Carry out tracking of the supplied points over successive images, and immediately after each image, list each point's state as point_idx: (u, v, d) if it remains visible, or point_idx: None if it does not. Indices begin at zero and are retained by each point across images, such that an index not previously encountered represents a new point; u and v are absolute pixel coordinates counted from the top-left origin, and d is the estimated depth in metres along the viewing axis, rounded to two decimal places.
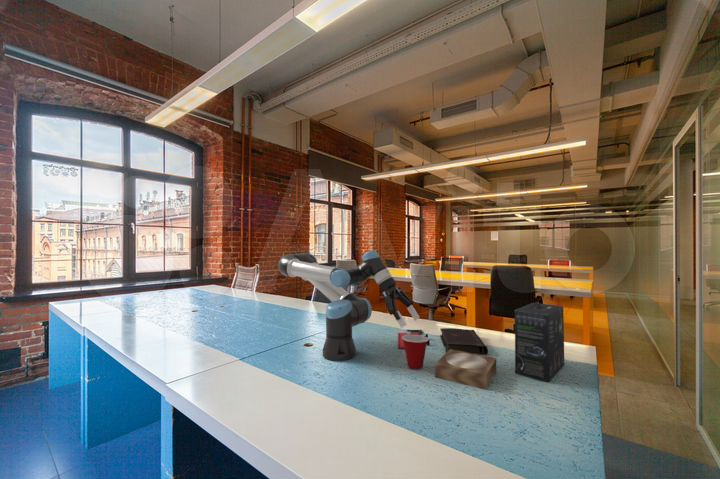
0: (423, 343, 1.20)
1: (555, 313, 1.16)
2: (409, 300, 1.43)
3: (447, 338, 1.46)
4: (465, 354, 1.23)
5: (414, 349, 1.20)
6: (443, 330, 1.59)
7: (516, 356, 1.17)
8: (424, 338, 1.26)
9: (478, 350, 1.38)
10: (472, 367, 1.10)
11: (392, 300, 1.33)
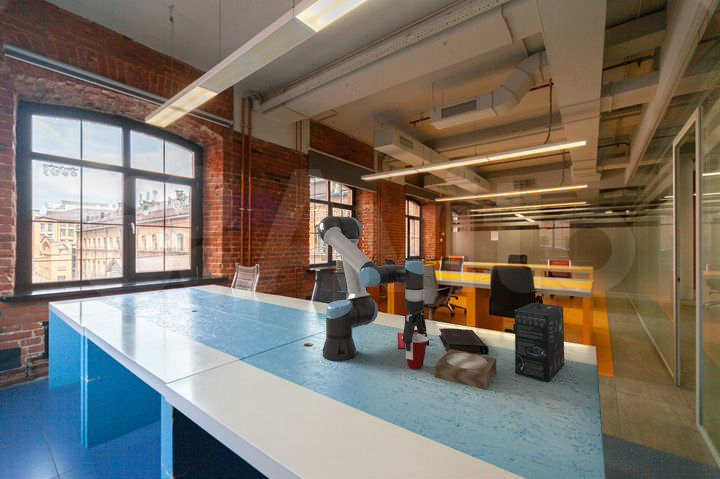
0: (423, 343, 1.20)
1: (555, 313, 1.16)
2: (424, 327, 1.30)
3: (447, 338, 1.46)
4: (465, 354, 1.23)
5: (414, 349, 1.20)
6: (442, 330, 1.59)
7: (516, 356, 1.17)
8: (424, 338, 1.26)
9: (479, 350, 1.38)
10: (472, 367, 1.10)
11: (411, 327, 1.20)
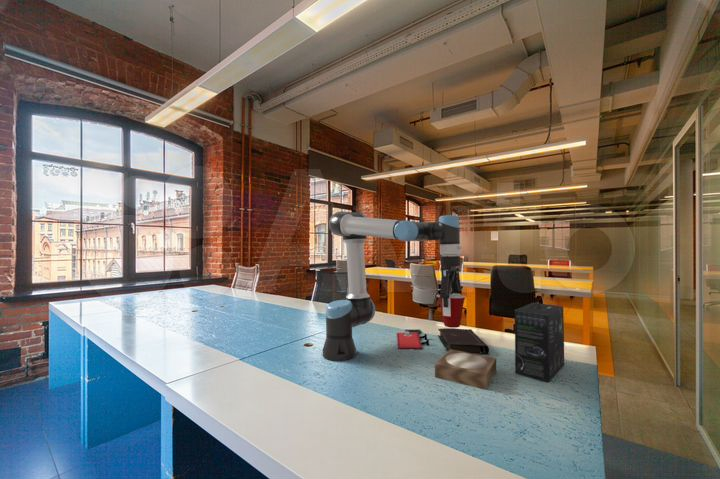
0: (461, 299, 1.15)
1: (555, 313, 1.16)
2: (459, 287, 1.25)
3: (447, 338, 1.46)
4: (465, 354, 1.23)
5: (451, 305, 1.15)
6: (441, 330, 1.59)
7: (516, 356, 1.17)
8: (460, 296, 1.21)
9: (479, 350, 1.38)
10: (472, 367, 1.10)
11: (448, 283, 1.15)
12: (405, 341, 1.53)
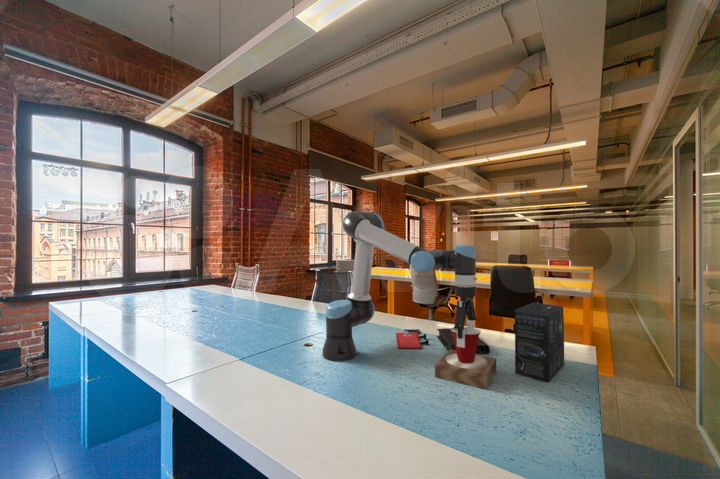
0: (476, 335, 1.13)
1: (555, 313, 1.16)
2: None
3: (448, 338, 1.46)
4: None
5: (466, 341, 1.13)
6: (441, 330, 1.59)
7: (516, 356, 1.17)
8: (474, 330, 1.19)
9: (480, 349, 1.38)
10: (472, 367, 1.10)
11: (463, 313, 1.13)
12: (405, 341, 1.53)
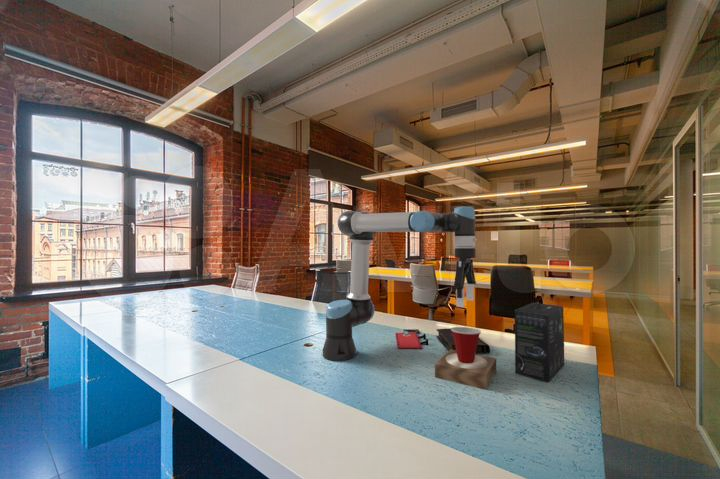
0: (476, 335, 1.13)
1: (555, 313, 1.16)
2: (473, 277, 1.24)
3: (448, 339, 1.45)
4: None
5: (466, 341, 1.13)
6: (440, 331, 1.58)
7: (516, 356, 1.17)
8: (474, 330, 1.19)
9: (480, 349, 1.38)
10: (472, 367, 1.10)
11: (463, 274, 1.13)
12: (405, 341, 1.53)
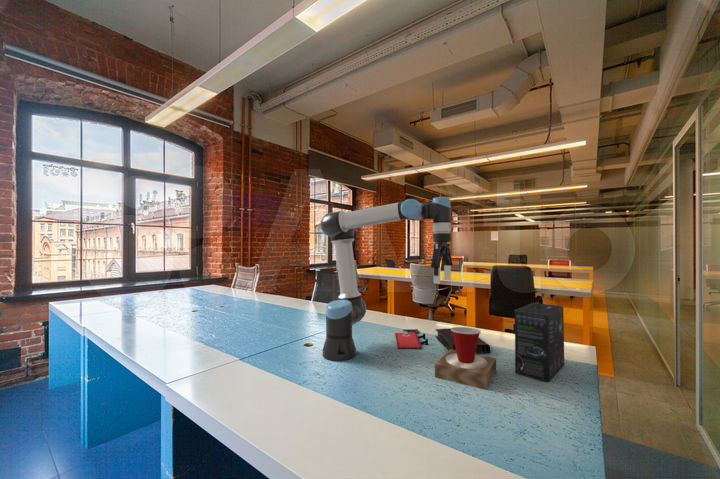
0: (476, 335, 1.13)
1: (555, 313, 1.16)
2: (450, 260, 1.41)
3: (448, 339, 1.45)
4: None
5: (466, 341, 1.13)
6: (439, 331, 1.58)
7: (516, 356, 1.17)
8: (474, 330, 1.19)
9: (481, 349, 1.39)
10: (472, 367, 1.10)
11: (439, 255, 1.30)
12: (404, 341, 1.53)
